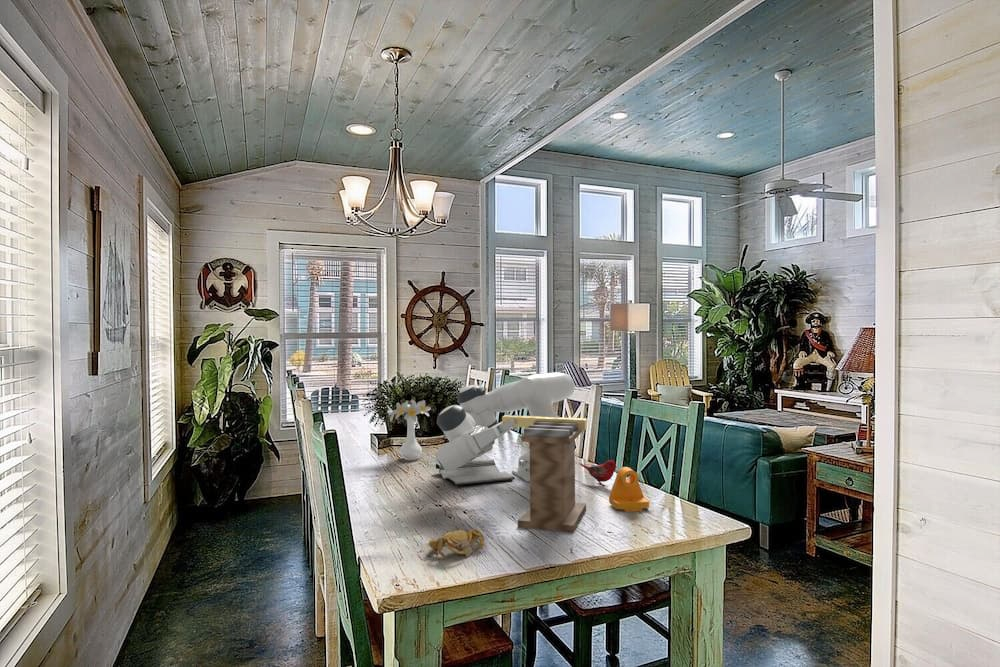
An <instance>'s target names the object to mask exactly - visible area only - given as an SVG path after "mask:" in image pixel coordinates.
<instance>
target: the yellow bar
mask: <svg viewBox="0 0 1000 667" xmlns="http://www.w3.org/2000/svg"><path fill="white" fill-rule="evenodd" d="M512 419H515V421H516V424H515V425H513V426H511V427H514V428H529V425H534V422H555V423H577V430H582V431H587V429H588V418H584V417H583V418H582V417H581V418H577V417H560V416H559V417H537V416H530V415H511V414H509V415H505V414H504V415H503V416H502V417H501V422H502V424H503V423H506V422H508V421H510V420H512Z"/></svg>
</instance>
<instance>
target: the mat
mask: <svg viewBox="0 0 1000 667" xmlns="http://www.w3.org/2000/svg"><path fill="white" fill-rule="evenodd" d="M435 469H436V470H439V472H438V474H440V476H441V477H442V478H443V480H447V479H448V480H449V481H451V482H453V483H454V484H455V486H457V487H458V488H459V487H460V486H462V485H471V484H481V483H493V482H503V481H509V482H512V481H513V480H516V477H515V476H514V475H512V474H511V473H509V472H507V471H502V472H501V471H499V468H498V466H497V465H496V462H495V459H493V458H486V459H473V460H472V461H470V462H468V463H467V464H465V465H463V466H461V467H459V468H456V469H453V470H450V471H446V470H445V469H443V468H442V466H441V465H440V464H439V462H438V463H435Z"/></svg>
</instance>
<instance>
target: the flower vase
mask: <svg viewBox="0 0 1000 667" xmlns="http://www.w3.org/2000/svg"><path fill="white" fill-rule="evenodd" d="M410 401H411V404H410V403H408V400H406V401H405V402H403V403H402V404H400V402H397V403H395V404H396V409H394V410H393V409H391V407H390V406H389V405H388V404H387V405H386V406H387V409H388V410H387V412H386V413H387V414H388V416H389V421H390V423H392V422H393V419H395V420H397V419H398V418H400V416H401V415H404V416H403V419H404V420H406V425H407V427H406V428H407V429H406V430H407V432H406V439H405V441H404V444H402V446H401V447H400V450H399V452H400V455H401V456H402V457H403V459H404V460H405V461H416V460H419V458H420V457H419V456H421V455H422V454H423V453H422V452H423V449H422V446H421V445H420V444H419V442H418V441H417V439H416V433H415V422H416V421H417V415H419V414H421V415H423V414H425V415H426V416H427V417H430V413H429V411H430V410H431V409H432V408H431V406H428V405H426V400H424V399H423V400H421V401H418V402H416V400H414V399H411V400H410ZM394 417H395V418H394Z"/></svg>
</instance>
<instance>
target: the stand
mask: <svg viewBox="0 0 1000 667" xmlns="http://www.w3.org/2000/svg"><path fill="white" fill-rule="evenodd" d="M582 432H583V430H577V423H555V422H534V425H529V427H523V434H522V435H521V442H526V443H528V442H530V443H529V445H530V481H529V506H528V508H527V509H526V510H525V511H524V513H523V514H522V515H520V517H519V519H518V520H517V528H523V529H533V530H543V531H550V532H551V531H552V532H563V533H572V534H573V533H575V532H576V528H577V527H578V525H579V523H581V520H582V519H583V517H584V514H585V512H586V511H587V503H586V502H576V471H575V470H576V467H575V466H576V465H575V464H576V463H575V461H576V457H575V455H576V451H575V450H576V449H575V448H576V445H575V443H576V442H575V440H576V439H577V438H578V437H579V435H580V434H581V433H582Z"/></svg>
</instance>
